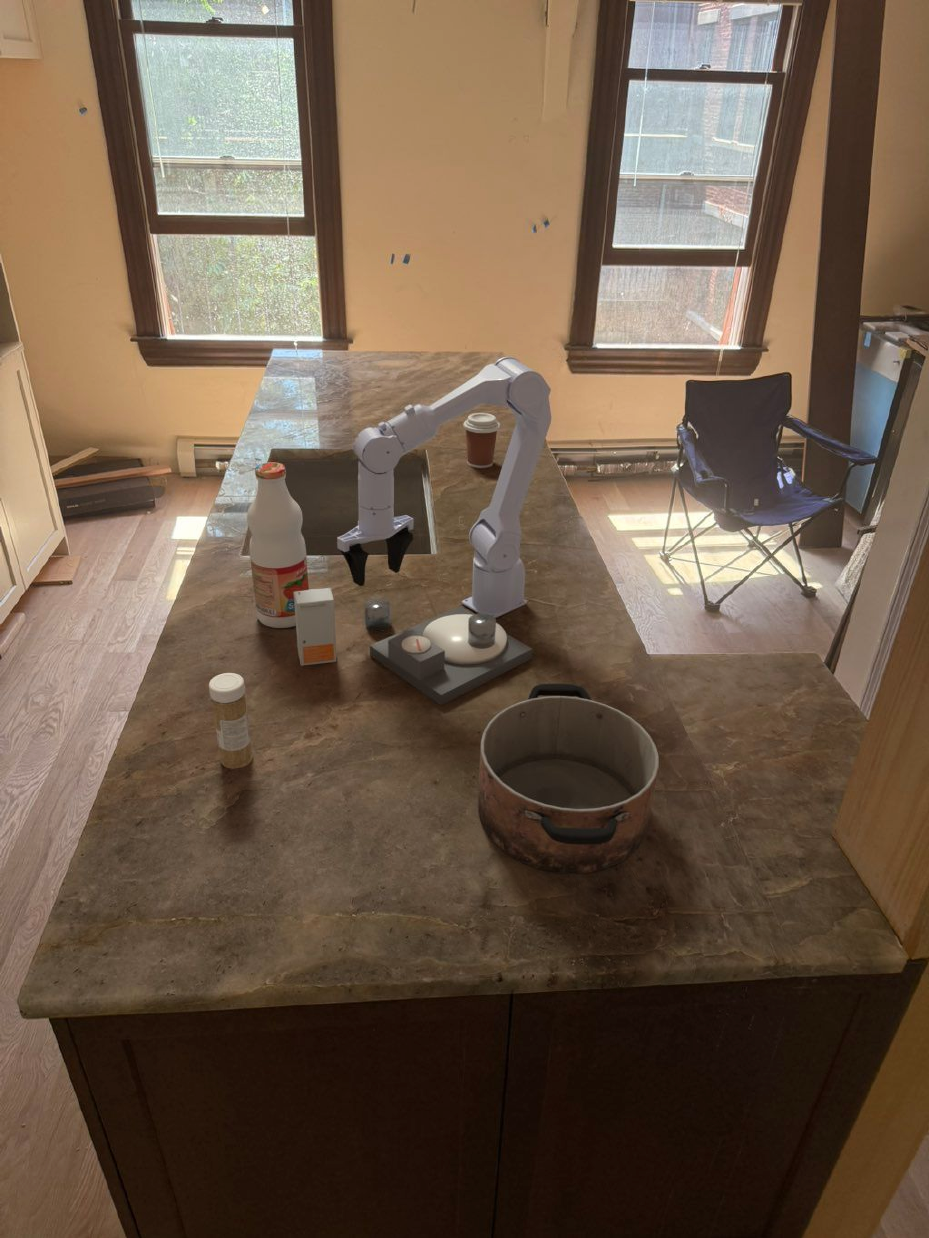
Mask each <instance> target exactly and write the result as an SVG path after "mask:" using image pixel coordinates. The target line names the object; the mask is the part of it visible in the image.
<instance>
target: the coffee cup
mask: <svg viewBox="0 0 929 1238" xmlns="http://www.w3.org/2000/svg"><path fill="white" fill-rule="evenodd" d="M462 425H463V428H464V430H465V439H466V454H467V455H466V456H467V457H466V458H467V459H466V460H467V465H468V466H470V467H472V468H475V469H486V468H491V467H492V466H493V464H494V457H495V449H496V443H497V442H496V441H497V434H498V431H499V430H501V429H500V427H501V424H500V422H499V421H498V420H497V418H496V416H495V415H493V414H491V413H487V412H486V413H485V412H475V413H471V414H469V415H468V417H467V419H466V420H465V421H464V422H463V424H462Z"/></svg>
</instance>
